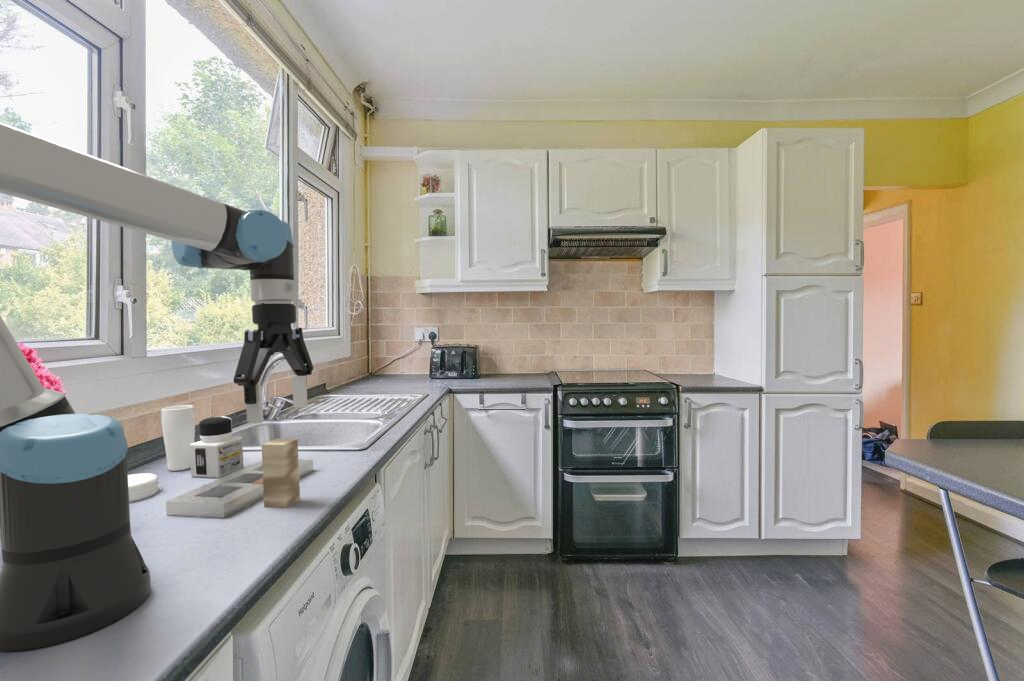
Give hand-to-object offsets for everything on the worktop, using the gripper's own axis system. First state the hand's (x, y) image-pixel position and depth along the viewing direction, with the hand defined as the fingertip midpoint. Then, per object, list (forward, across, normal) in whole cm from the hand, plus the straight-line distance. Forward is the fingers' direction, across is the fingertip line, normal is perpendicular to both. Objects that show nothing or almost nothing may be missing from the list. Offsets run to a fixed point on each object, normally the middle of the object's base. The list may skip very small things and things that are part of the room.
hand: (279, 414), depth 95 cm
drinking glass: (+18, +18, +40) cm, 47 cm away
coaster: (+18, 0, +35) cm, 39 cm away
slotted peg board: (+17, +6, +12) cm, 22 cm away
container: (+18, +16, +28) cm, 37 cm away
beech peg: (+17, 0, 0) cm, 17 cm away
